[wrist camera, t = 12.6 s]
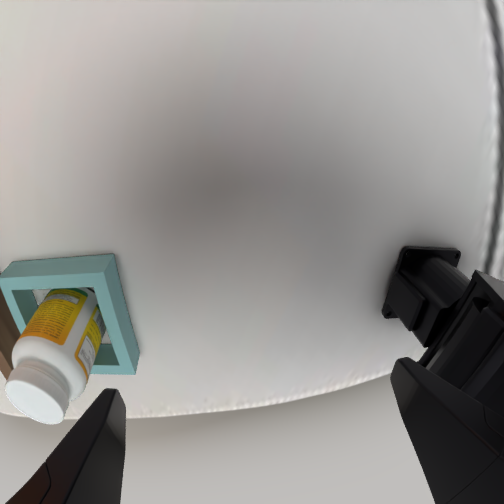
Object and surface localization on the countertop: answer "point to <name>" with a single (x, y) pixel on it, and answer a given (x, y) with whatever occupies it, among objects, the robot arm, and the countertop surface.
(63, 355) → the supplement bottle
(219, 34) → the countertop surface
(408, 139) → the countertop surface
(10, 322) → the wall
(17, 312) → the socket block
